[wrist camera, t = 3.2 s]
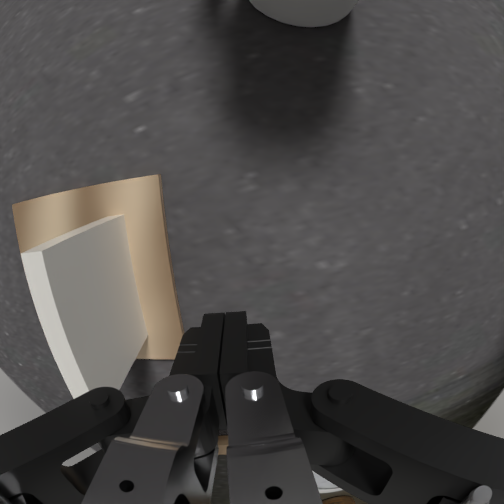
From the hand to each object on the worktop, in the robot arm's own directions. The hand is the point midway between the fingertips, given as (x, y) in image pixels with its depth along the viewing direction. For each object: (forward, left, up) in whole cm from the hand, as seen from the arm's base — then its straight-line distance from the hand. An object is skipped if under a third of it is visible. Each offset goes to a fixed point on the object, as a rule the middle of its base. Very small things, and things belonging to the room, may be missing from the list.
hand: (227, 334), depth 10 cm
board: (+10, 0, -7) cm, 12 cm away
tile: (+7, 0, -7) cm, 10 cm away
